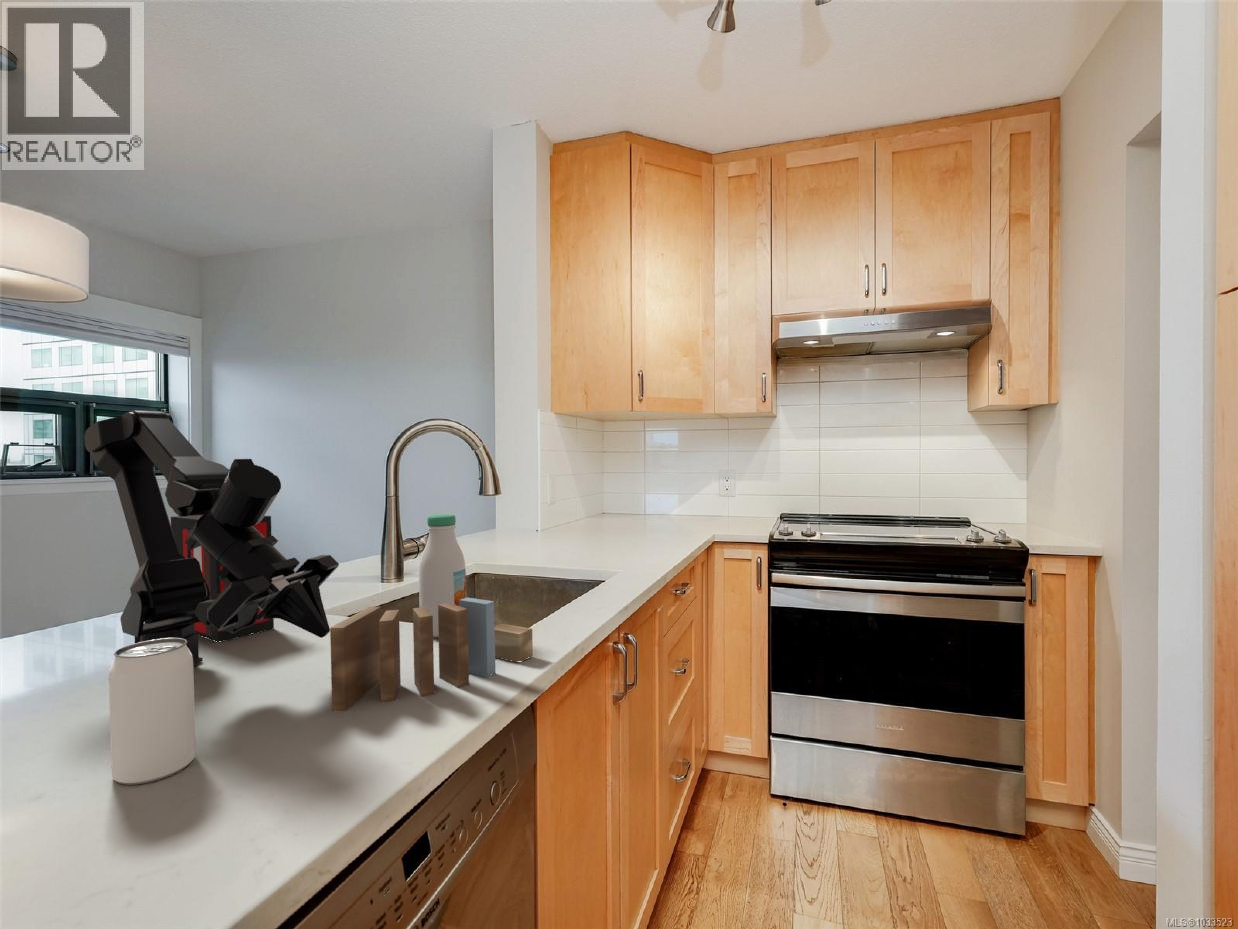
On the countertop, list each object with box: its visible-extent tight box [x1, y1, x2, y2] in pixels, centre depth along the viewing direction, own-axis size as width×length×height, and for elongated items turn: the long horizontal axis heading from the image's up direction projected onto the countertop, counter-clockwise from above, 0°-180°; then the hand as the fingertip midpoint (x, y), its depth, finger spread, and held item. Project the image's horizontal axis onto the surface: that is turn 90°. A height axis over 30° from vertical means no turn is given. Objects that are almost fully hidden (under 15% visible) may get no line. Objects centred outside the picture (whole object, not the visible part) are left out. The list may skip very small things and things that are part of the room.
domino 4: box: [438, 603, 470, 689], centre depth 79 cm, size 2×5×10 cm, turn 44°
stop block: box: [495, 623, 534, 662], centre depth 89 cm, size 3×6×4 cm, turn 60°
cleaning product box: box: [170, 515, 275, 643], centre depth 105 cm, size 16×9×20 cm, turn 58°
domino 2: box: [379, 609, 402, 703], centre depth 76 cm, size 2×5×10 cm, turn 12°
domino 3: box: [412, 607, 435, 697], centre depth 77 cm, size 2×5×10 cm, turn 28°
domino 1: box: [329, 606, 382, 712], centre depth 75 cm, size 2×10×10 cm, turn 176°
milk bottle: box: [418, 514, 467, 638], centre depth 101 cm, size 8×8×20 cm
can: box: [108, 638, 196, 786], centre depth 58 cm, size 6×6×12 cm
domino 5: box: [459, 597, 496, 678], centre depth 82 cm, size 2×5×10 cm, turn 60°
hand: (326, 634), depth 75 cm, fingers closed
